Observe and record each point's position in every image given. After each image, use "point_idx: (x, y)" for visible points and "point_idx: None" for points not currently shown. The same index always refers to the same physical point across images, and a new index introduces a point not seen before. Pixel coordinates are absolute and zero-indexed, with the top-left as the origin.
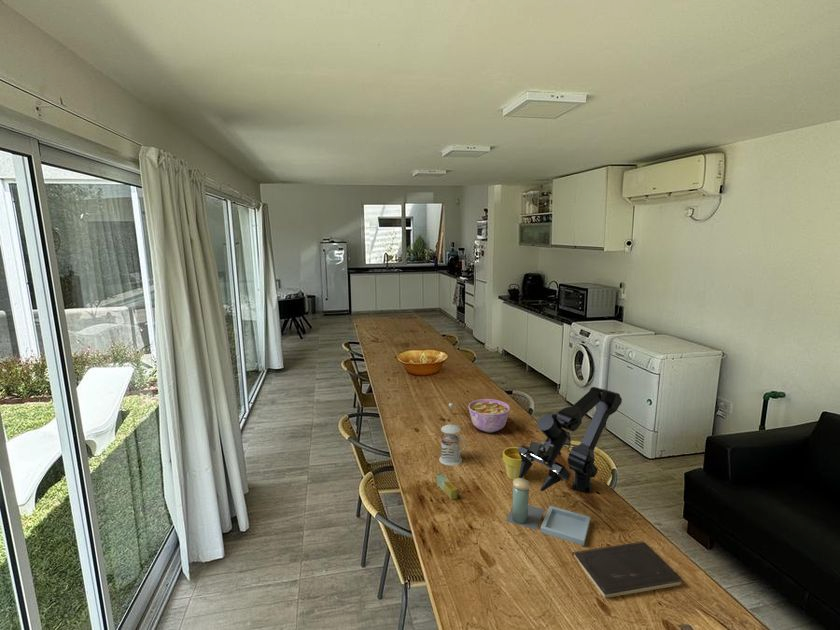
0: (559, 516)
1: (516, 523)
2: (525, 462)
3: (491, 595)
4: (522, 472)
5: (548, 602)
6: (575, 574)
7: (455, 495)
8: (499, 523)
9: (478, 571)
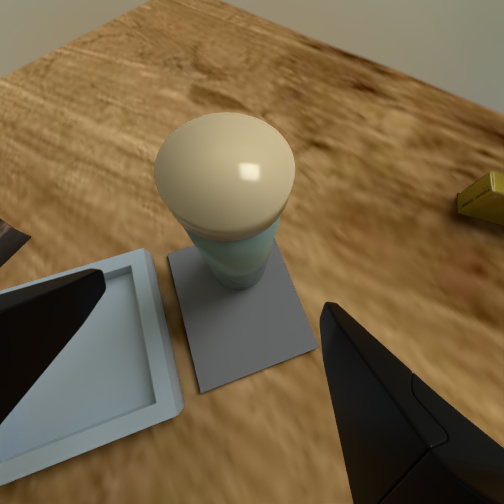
0: (126, 393)
1: None
2: (438, 478)
3: (149, 45)
4: (340, 341)
5: (47, 89)
6: (8, 184)
7: (468, 197)
8: None
9: (203, 65)
